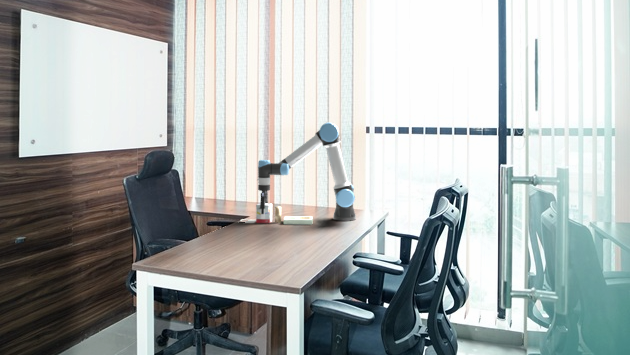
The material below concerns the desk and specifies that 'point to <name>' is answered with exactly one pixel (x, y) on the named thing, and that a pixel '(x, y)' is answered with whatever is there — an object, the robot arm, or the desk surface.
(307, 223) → the socket board
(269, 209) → the ink box
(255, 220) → the mat
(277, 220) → the peg
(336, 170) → the robot arm
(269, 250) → the desk surface
